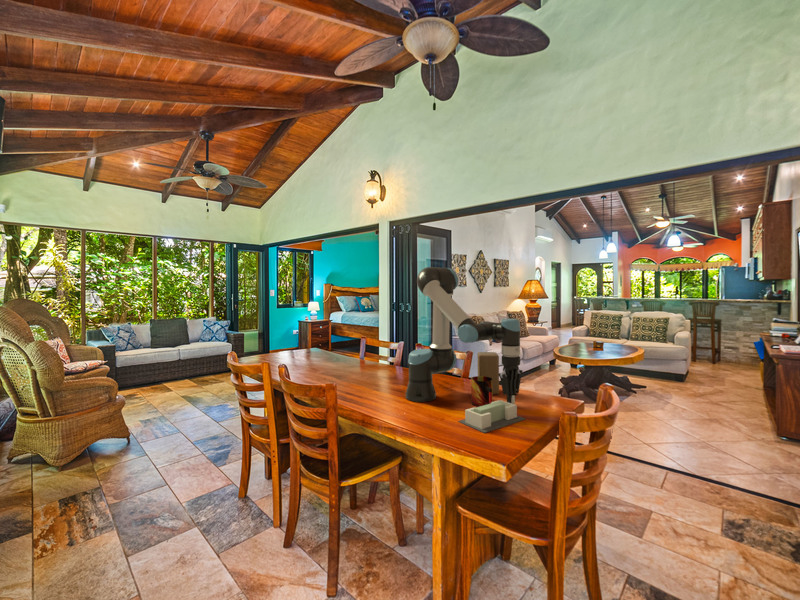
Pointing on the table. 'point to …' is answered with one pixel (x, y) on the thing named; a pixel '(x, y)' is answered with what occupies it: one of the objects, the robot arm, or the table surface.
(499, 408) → the slat
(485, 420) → the cap
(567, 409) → the table surface
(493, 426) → the mat
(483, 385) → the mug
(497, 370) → the wooden block
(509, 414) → the cap
